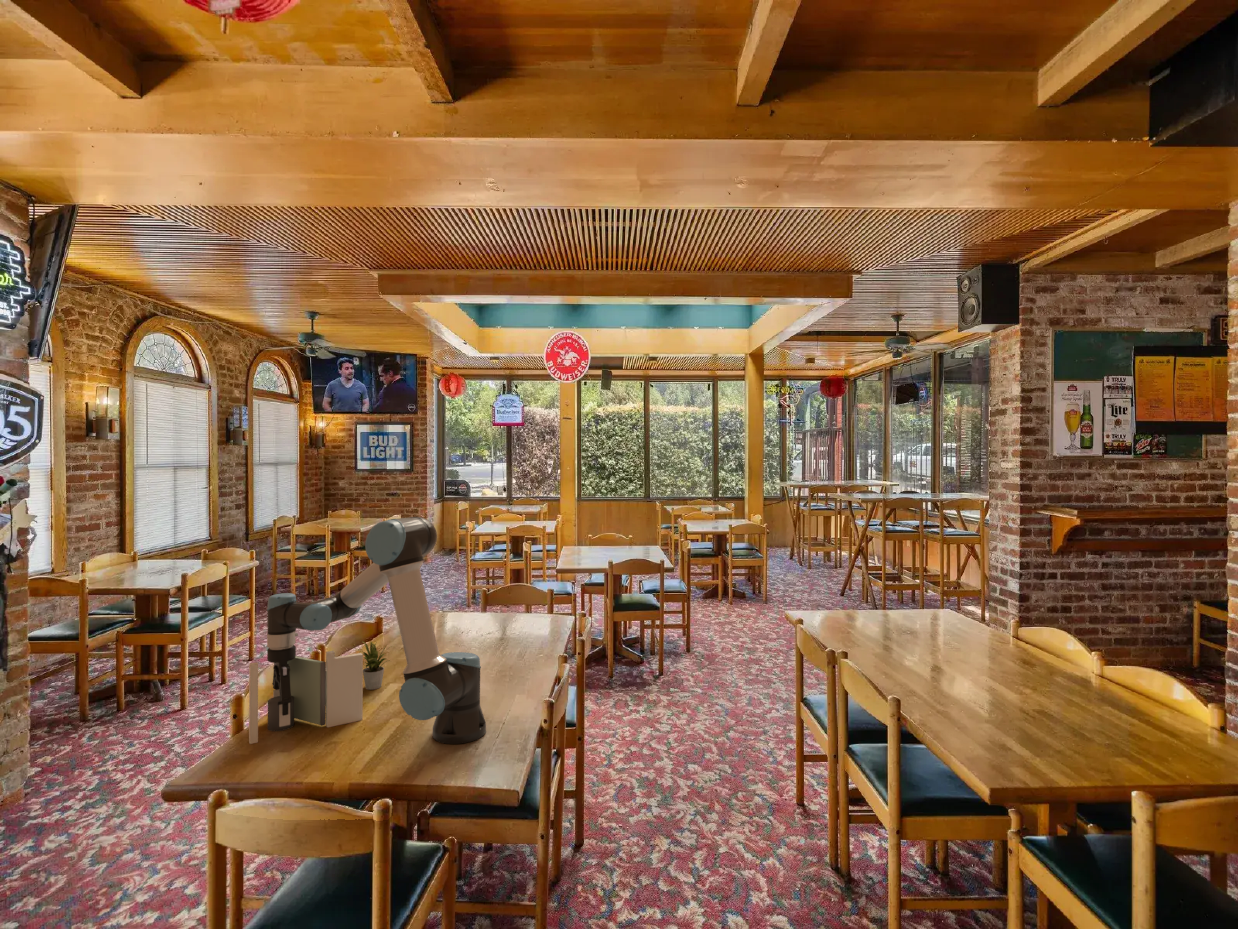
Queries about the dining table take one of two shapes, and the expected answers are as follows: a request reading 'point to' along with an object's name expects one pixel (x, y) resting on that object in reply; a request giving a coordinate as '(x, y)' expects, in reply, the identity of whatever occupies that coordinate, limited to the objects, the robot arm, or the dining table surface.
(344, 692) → the door frame
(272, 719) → the dark brown cylinder
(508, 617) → the dining table surface
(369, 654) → the house plant
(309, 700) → the door
